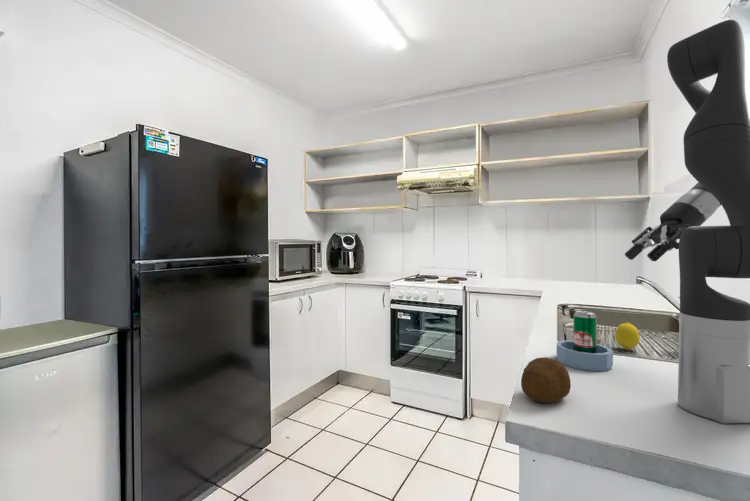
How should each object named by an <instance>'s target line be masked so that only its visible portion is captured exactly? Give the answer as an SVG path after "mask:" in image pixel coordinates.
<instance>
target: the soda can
mask: <svg viewBox="0 0 750 501" xmlns="http://www.w3.org/2000/svg"><path fill="white" fill-rule="evenodd" d="M572 325H573V326H572V329H573V332H572V341H573V350H574V351H578V352H586V353H596V344H597V339H598V337H597V335H598V334H597V333H598V332H597V331H598V330H597V329H598V318H597V315H596V313H595V312H592V311H588V310H587V311H586V310H576V311H575V312H574V314H573V324H572Z"/></svg>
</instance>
